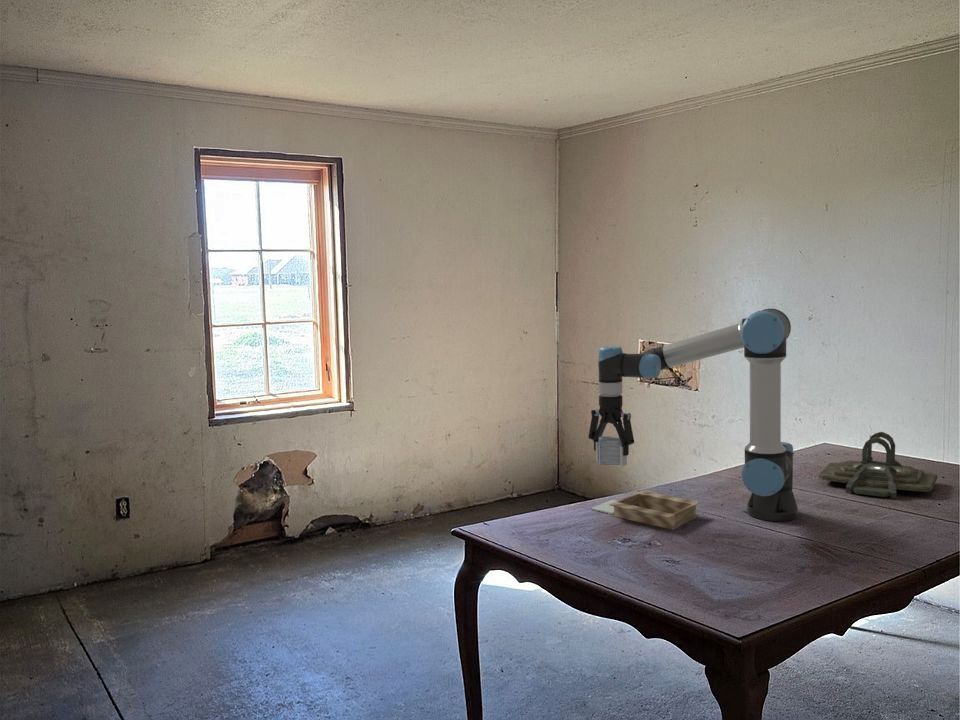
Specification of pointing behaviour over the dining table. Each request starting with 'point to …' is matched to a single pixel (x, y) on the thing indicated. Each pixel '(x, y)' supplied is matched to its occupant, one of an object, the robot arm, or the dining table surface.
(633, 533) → the dining table surface
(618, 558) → the dining table surface
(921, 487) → the olive flat handled piece
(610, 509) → the mat
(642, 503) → the wooden tray
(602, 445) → the medicine box
